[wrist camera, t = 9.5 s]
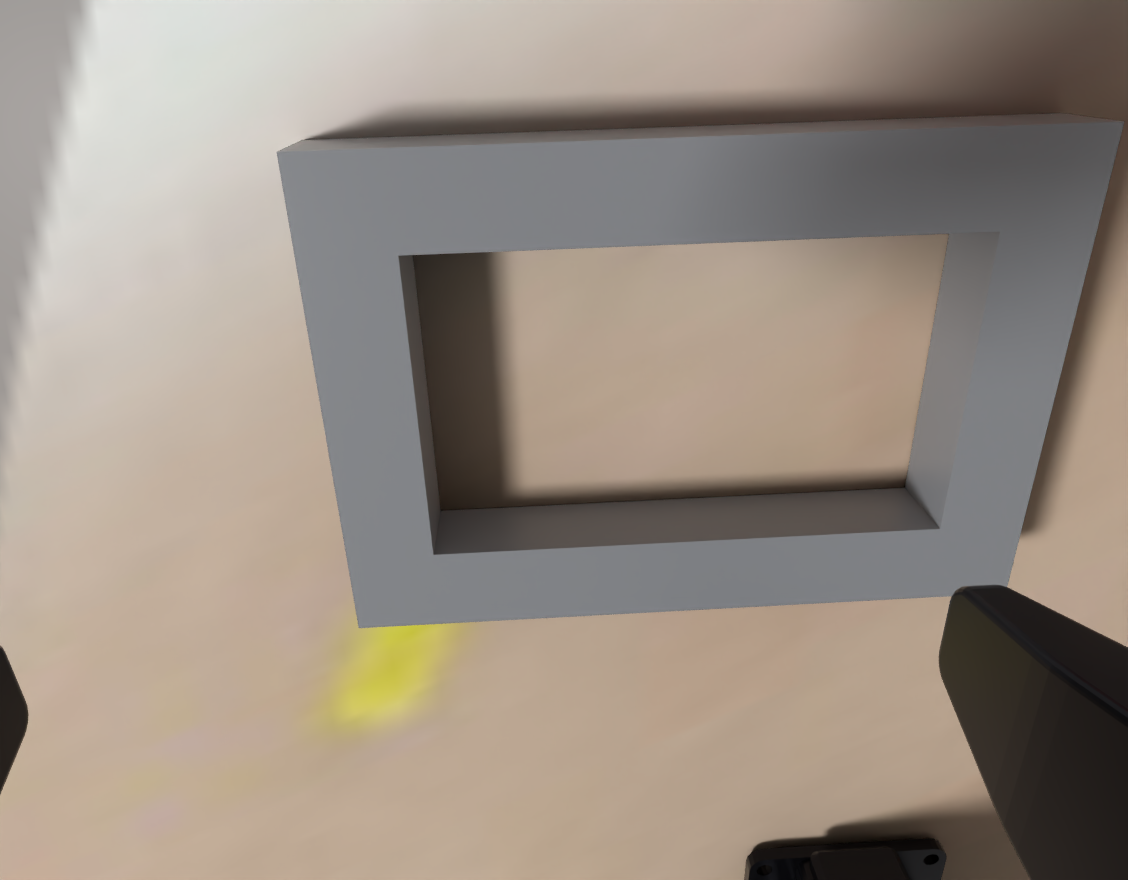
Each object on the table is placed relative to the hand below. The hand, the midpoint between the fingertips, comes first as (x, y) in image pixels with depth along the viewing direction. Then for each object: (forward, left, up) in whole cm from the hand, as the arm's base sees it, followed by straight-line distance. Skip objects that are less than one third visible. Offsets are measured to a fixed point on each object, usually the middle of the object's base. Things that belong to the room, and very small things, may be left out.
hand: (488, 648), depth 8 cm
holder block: (-2, -4, -12) cm, 13 cm away
